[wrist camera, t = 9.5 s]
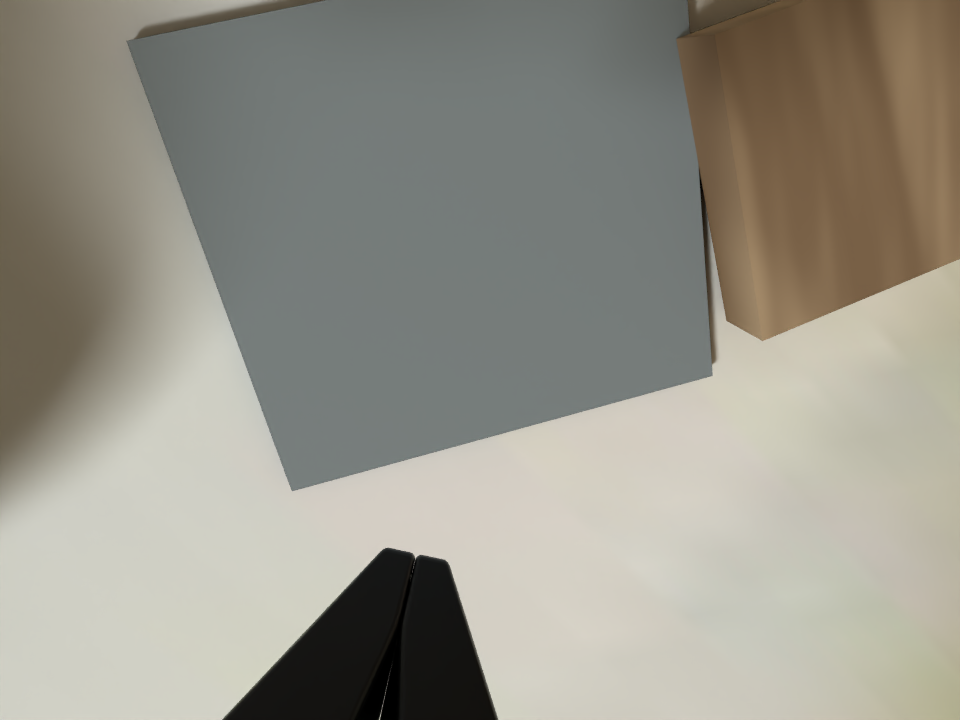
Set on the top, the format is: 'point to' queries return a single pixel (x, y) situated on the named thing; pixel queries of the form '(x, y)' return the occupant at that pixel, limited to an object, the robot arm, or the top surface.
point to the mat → (440, 213)
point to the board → (826, 151)
